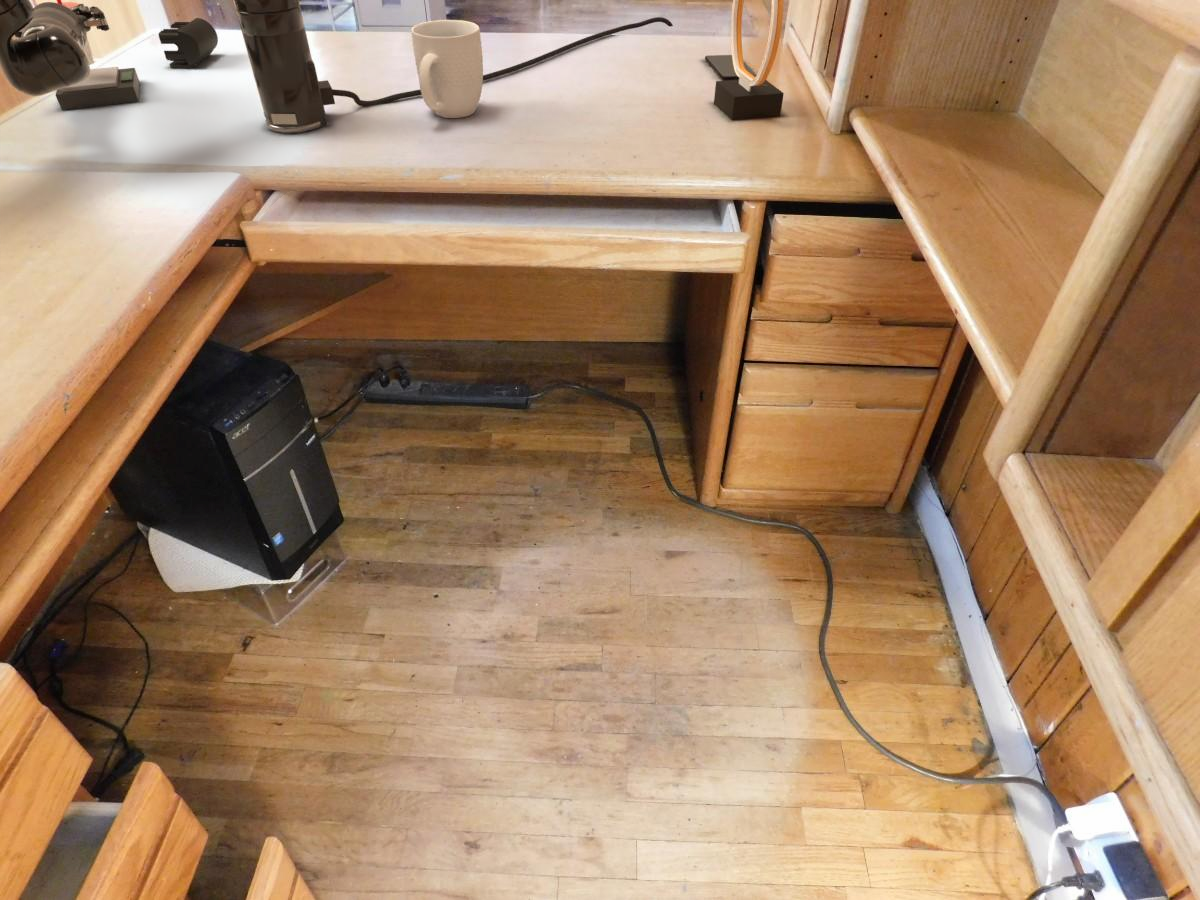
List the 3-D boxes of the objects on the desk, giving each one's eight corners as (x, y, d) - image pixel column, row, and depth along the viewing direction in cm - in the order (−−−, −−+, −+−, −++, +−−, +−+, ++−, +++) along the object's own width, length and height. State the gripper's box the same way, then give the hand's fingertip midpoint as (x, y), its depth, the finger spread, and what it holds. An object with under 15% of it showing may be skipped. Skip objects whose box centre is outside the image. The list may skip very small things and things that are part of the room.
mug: (460, 134, 124) (450, 46, 116) (399, 127, 127) (385, 39, 118) (497, 105, 135) (490, 22, 126) (440, 98, 137) (430, 17, 129)
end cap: (205, 69, 150) (193, 30, 145) (168, 69, 150) (155, 30, 145) (223, 54, 157) (212, 17, 153) (188, 54, 157) (176, 17, 152)
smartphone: (737, 54, 157) (758, 75, 145) (736, 59, 157) (757, 80, 146) (704, 55, 156) (722, 76, 145) (703, 60, 156) (722, 81, 145)
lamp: (789, 124, 129) (828, -108, 108) (740, 128, 127) (770, -107, 106) (751, 93, 141) (779, -122, 120) (706, 96, 139) (726, -120, 118)
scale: (139, 82, 143) (133, 63, 141) (138, 101, 135) (131, 82, 133) (67, 89, 140) (59, 70, 138) (61, 110, 132) (53, 90, 130)
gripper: (97, 3, 118) (102, -17, 130) (-11, 11, 114) (5, -11, 126) (117, 56, 123) (120, 32, 135) (14, 66, 119) (27, 40, 131)
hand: (64, 12), depth 130 cm, fingers closed on cup, 5 cm apart
